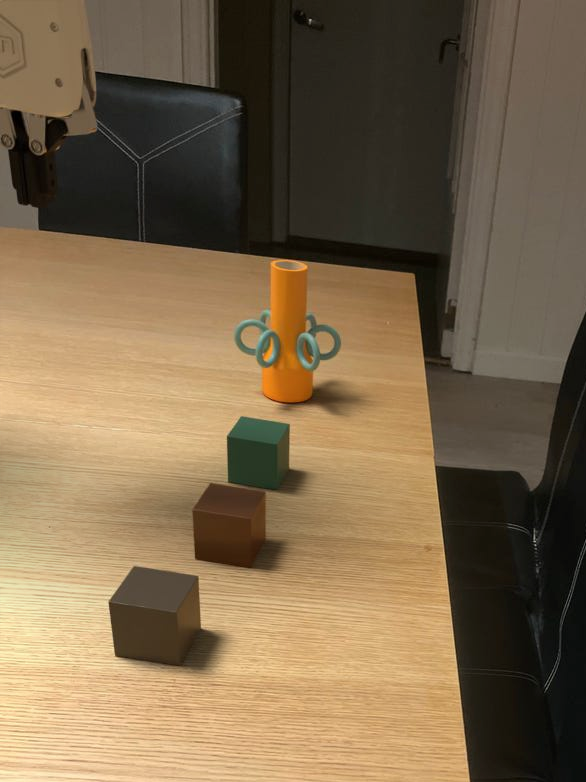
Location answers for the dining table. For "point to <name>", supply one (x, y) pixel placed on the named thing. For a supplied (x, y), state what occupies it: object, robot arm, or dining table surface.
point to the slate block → (155, 615)
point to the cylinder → (287, 336)
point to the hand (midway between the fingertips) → (37, 202)
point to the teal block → (258, 452)
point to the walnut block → (229, 525)
